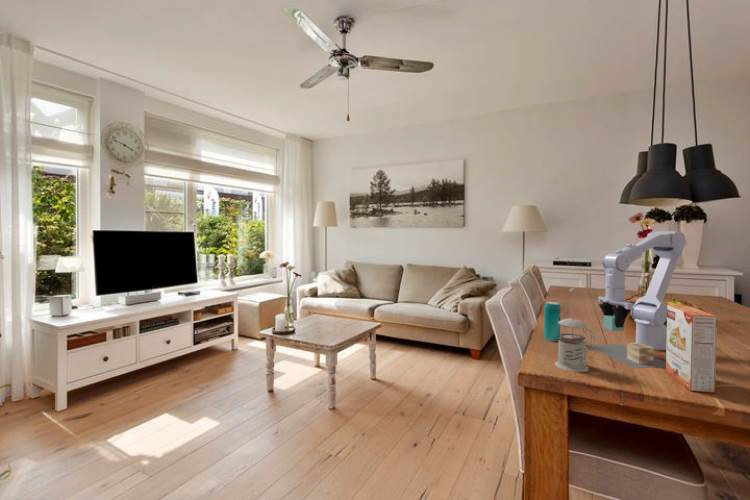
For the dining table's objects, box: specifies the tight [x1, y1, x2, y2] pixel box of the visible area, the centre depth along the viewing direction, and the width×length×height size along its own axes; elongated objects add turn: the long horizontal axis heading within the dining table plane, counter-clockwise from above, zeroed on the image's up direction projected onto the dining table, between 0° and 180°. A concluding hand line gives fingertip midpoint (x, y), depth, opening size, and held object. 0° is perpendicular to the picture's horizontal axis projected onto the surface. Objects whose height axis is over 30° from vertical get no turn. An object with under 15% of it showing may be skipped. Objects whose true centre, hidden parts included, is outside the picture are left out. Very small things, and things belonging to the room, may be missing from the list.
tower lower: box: [627, 351, 655, 364], centre depth 121 cm, size 5×5×2 cm
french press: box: [554, 287, 596, 373], centre depth 116 cm, size 10×12×25 cm
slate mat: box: [586, 344, 666, 369], centre depth 126 cm, size 14×23×1 cm, turn 5°
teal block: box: [602, 315, 625, 332], centre depth 131 cm, size 4×4×4 cm
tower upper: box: [626, 342, 655, 356], centre depth 121 cm, size 5×5×2 cm
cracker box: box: [665, 304, 718, 394], centre depth 103 cm, size 14×6×21 cm, turn 163°
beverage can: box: [543, 301, 562, 342], centre depth 145 cm, size 6×6×15 cm
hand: (614, 325), depth 131 cm, fingers closed on teal block, 4 cm apart
